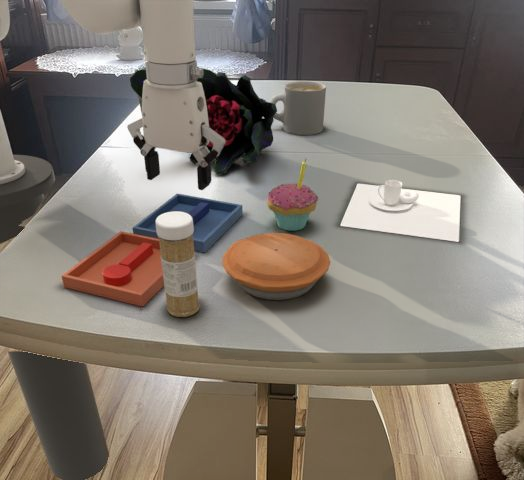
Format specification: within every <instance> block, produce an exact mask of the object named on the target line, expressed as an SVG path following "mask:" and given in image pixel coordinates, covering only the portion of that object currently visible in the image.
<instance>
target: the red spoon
mask: <svg viewBox="0 0 524 480" xmlns="http://www.w3.org/2000/svg"><path fill="white" fill-rule="evenodd" d="M152 254H153V247H152V244H149V243H142V244H141V245H140V246H139V247H137V248H136V249H135V250H134V251H133V252H131V253H130V254H129V255H128V256H127V257H125V258H124V259H123V260H122V261H121V262H119V264H115V265H111V266H108V267H106V268H105V269H104V270H103V278H104V282H105V283H106V284H107V285H111V286H122V285H125V284H127V283H129V282H130V281H131V279H132V275H131V272H132V271H134V270H135V269H136V268H137V267H138V266H139V265H140V264H141V263H143V262H144V261H145V260H146V259H147V258H148V257H149V256H151V255H152Z"/></svg>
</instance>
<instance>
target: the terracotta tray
mask: <svg viewBox="0 0 524 480" xmlns="http://www.w3.org/2000/svg"><path fill="white" fill-rule="evenodd" d="M142 243H149V244H152V247H153V254H152V255H151V256H149V257H148V258H147V259H146V260H145V261H144V262H143V263H141V264H140V265H139V266H138V267H137V268H136V269H135V270H134V271H132V272H131V275H132V279H131V281H130V282H129V283H127V284H125V285H122V286H111V285H107V284H106V283H105V282H104V278H103V270H104V269H105V268H106V267H108V266H111V265H115V264H119V262H121V261H122V260H123V259H124V258H125V257H127V256H128V255H129V254H130V253H131V252H133V251H134V250H135V249H136V248H137V247H139V246H140V245H141V244H142ZM61 280H62V285H63V287H64V288H66V289H70V290H74V291H78V292H82V293H86V294H90V295H95V296H98V297H102V298H107V299H109V300H114V301H119V302H123V303H128V304H130V305H134V306H138V307H144V306H146V304H147V303H148V302H150V300H151V299H153V297H154V296H155V295H157V294H158V292H160V291H161V290H162V289H163V288H164V279H163V271H162V263H161V252H160V243H159V239H156V238H151V237H146V236H142V235H137V234H133V232H127V231H123V230H120V231H119V232H118V233H116V234H115V235H114V236H112V237H111V238H110V239H108V240H107V241H106V242H104V243H103V244H102V245H100V246H99V247H97V248H96V249H95V250H94V251H92V252H91V253H90V254H88V255H87V256H86V257H84V258H83V259H82V260H81V261H79V262H78V263H76V264H75V265H73V267H71V268H69V269H68V270H67V271H66V272H64V273H63V274H62V275H61Z"/></svg>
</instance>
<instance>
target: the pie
mask: <svg viewBox="0 0 524 480" xmlns="http://www.w3.org/2000/svg"><path fill="white" fill-rule="evenodd" d="M330 265H331V258H330V255H329V254H328V253H327V251H326V250H325V249H324V248H323V247H321V246H320V245H319V244H317V243H316V242H314V241H312V240H309V239H307V238H304V237H301V236H299V235H297V234H291V233H285V232H283V233H282V232H267V233H259V234H254V235H251V236H248V237H245V238H242V239H240V240H236V241H234V242H233V244H231V245H230V246H229V248H227V250H225V253H224V254H223V255H222V267H223V268H224V270H225V272H226V273H227V274H228V275H229V276H230V277H231V278H232V279H234V281H235V282H236V284H237V285H238V286H239V287H240V288H241V289H242V290H243V292H246V293H247V294H248V295H251V296H253V297H255V298H257V299H263V300H268V301H284V300H292V299H295V298H298V297H301V296H302V295H305V294H306V293H308V292H309V291H310V290H311V289H312V288H313V287H314V286H315V284H316V283H317V282H318V281H319V280H320V279H321V277H322V276H324V275H325V274H327V272H329V269H330Z"/></svg>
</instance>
